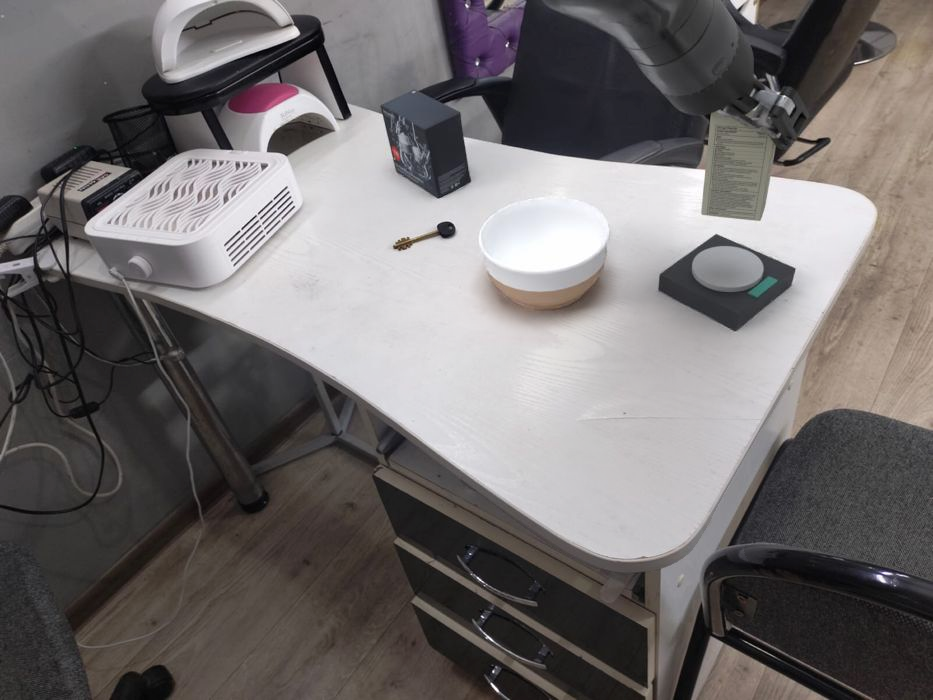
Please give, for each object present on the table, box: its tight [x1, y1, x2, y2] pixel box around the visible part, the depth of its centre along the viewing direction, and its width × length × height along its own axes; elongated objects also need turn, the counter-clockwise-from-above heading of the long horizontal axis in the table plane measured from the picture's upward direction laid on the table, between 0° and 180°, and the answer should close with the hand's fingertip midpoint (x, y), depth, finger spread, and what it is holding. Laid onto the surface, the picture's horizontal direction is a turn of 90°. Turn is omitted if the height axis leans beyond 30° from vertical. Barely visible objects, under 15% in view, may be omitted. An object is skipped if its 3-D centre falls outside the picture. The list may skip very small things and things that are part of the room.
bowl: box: [477, 196, 611, 311], centre depth 86 cm, size 16×16×8 cm
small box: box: [379, 88, 472, 199], centre depth 108 cm, size 13×7×12 cm, turn 37°
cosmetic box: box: [700, 91, 781, 222], centre depth 69 cm, size 6×4×12 cm
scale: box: [657, 233, 797, 332], centre depth 82 cm, size 11×11×3 cm
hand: (752, 128), depth 68 cm, fingers closed on cosmetic box, 7 cm apart
